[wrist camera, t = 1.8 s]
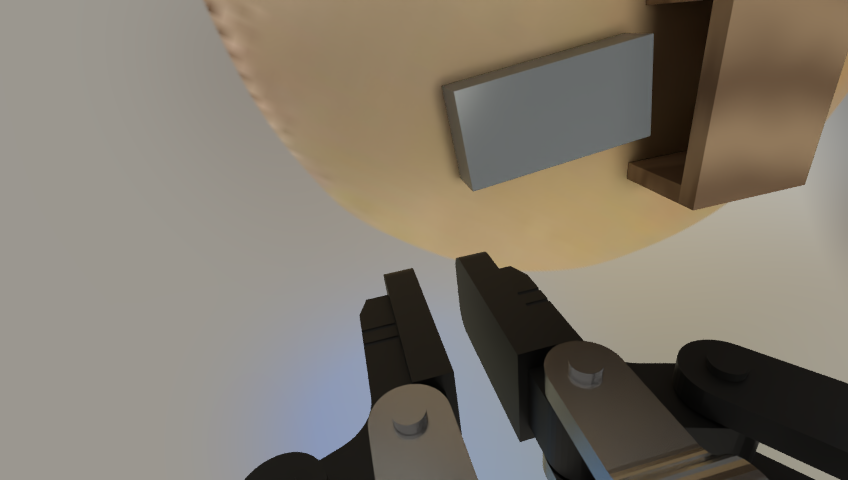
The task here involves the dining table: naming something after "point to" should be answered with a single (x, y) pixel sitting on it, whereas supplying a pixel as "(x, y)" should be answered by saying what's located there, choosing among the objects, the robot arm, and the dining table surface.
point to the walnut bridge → (755, 101)
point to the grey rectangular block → (551, 109)
